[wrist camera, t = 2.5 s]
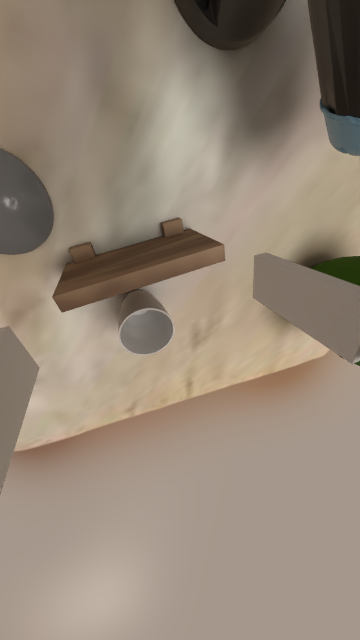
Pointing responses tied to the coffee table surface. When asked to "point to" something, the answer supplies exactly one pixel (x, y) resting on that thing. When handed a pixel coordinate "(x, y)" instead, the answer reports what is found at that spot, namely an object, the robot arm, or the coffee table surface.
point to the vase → (342, 270)
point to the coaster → (22, 207)
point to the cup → (144, 324)
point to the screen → (134, 265)
